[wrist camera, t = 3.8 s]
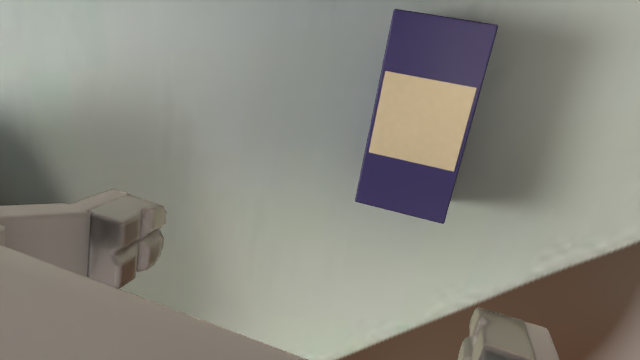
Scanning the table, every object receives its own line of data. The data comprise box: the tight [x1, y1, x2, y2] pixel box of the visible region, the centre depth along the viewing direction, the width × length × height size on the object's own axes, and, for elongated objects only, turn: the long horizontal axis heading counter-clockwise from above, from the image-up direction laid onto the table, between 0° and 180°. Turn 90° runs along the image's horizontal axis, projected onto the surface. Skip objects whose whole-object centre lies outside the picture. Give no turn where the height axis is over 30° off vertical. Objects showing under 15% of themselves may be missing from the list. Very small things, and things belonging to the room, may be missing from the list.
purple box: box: [355, 9, 498, 224], centre depth 23 cm, size 10×5×4 cm, turn 170°
